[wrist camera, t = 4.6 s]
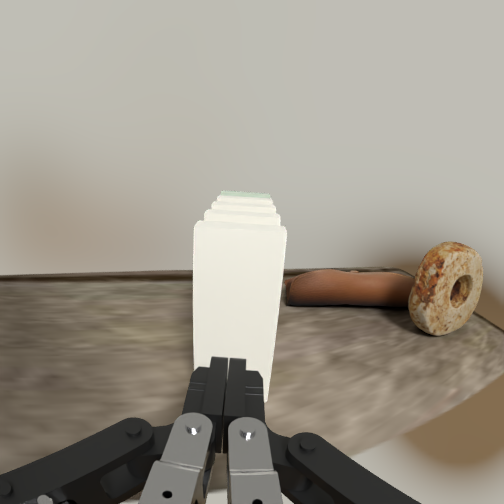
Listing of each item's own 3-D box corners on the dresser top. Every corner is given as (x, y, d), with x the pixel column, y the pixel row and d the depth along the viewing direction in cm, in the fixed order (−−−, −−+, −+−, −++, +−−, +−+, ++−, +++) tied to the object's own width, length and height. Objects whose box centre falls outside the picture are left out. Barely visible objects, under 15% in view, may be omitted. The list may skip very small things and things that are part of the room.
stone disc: (415, 346, 28) (442, 250, 25) (395, 329, 31) (416, 238, 28) (473, 330, 31) (497, 250, 28) (454, 317, 34) (474, 240, 31)
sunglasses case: (401, 285, 44) (419, 255, 39) (411, 327, 39) (434, 299, 34) (280, 279, 43) (287, 245, 38) (281, 325, 39) (289, 294, 34)
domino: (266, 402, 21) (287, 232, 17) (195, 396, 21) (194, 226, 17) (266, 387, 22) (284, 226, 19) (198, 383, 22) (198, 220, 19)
